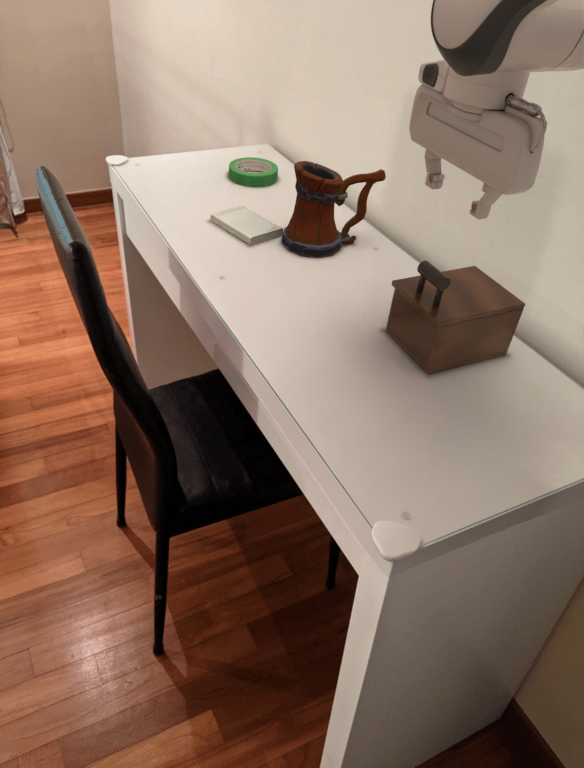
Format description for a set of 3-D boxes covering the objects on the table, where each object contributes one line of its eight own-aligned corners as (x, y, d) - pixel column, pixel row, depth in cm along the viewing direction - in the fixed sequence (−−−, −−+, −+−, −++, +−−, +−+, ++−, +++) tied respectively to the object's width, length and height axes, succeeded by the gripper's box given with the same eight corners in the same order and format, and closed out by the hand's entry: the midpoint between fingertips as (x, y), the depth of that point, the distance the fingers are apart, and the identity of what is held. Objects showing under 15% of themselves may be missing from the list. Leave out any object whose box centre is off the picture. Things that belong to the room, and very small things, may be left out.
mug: (364, 230, 123) (377, 155, 113) (381, 257, 114) (396, 179, 105) (276, 230, 119) (282, 153, 110) (287, 259, 111) (294, 177, 101)
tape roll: (249, 190, 133) (250, 178, 132) (218, 174, 139) (219, 162, 137) (287, 181, 139) (288, 169, 138) (256, 165, 145) (256, 154, 144)
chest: (428, 374, 87) (442, 326, 82) (385, 330, 95) (395, 284, 90) (506, 354, 93) (524, 308, 88) (459, 314, 101) (473, 270, 96)
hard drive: (283, 227, 117) (243, 204, 123) (250, 238, 112) (210, 213, 119) (283, 235, 118) (242, 212, 125) (250, 246, 113) (210, 221, 120)
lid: (437, 327, 82) (447, 292, 79) (391, 285, 90) (398, 251, 86) (524, 308, 88) (536, 275, 84) (473, 269, 96) (483, 238, 92)
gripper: (573, 108, 63) (530, 233, 71) (453, 61, 77) (429, 170, 85) (527, 111, 60) (487, 240, 69) (411, 62, 74) (391, 174, 83)
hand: (454, 201), depth 77 cm, fingers open, 8 cm apart
